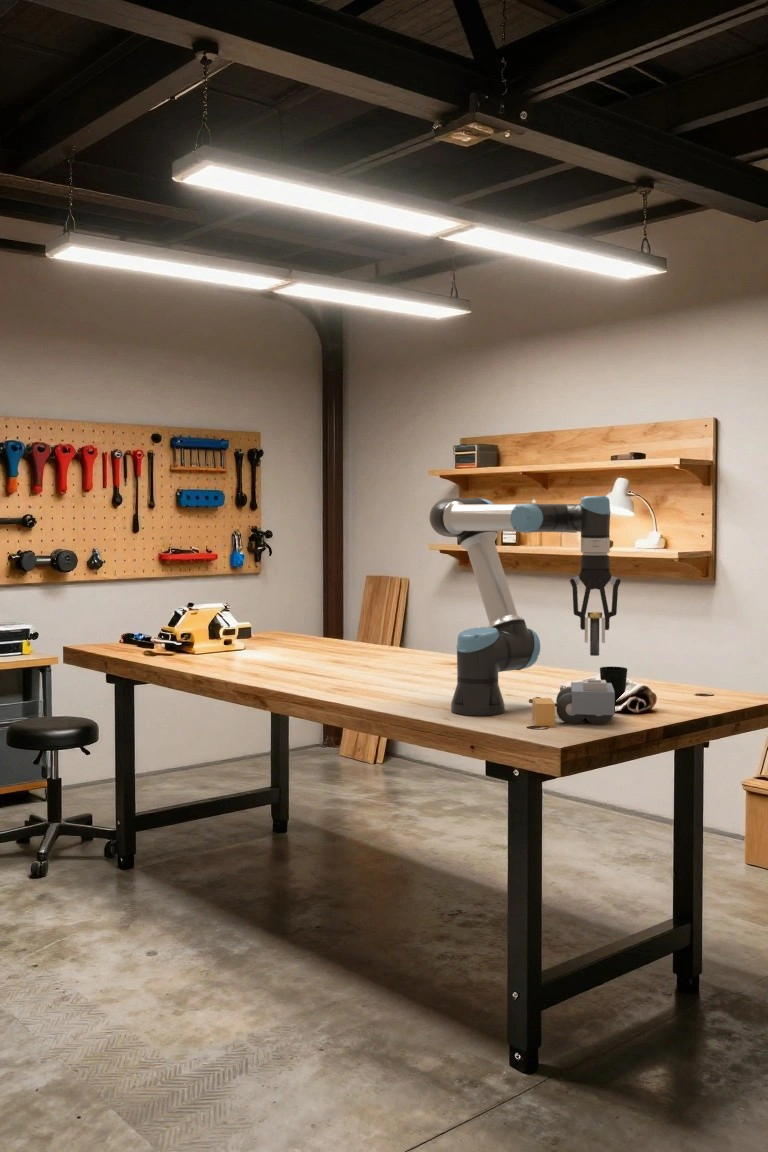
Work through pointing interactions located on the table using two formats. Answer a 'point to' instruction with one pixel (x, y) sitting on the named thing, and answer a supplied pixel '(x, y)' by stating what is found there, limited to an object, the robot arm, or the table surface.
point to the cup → (615, 678)
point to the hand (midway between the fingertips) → (594, 642)
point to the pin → (594, 632)
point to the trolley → (586, 702)
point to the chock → (543, 712)
